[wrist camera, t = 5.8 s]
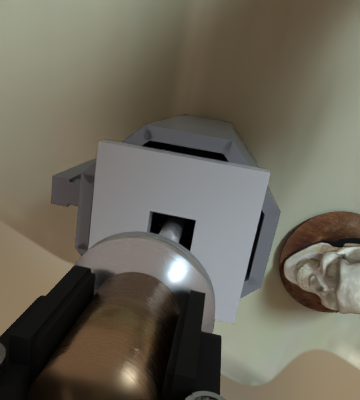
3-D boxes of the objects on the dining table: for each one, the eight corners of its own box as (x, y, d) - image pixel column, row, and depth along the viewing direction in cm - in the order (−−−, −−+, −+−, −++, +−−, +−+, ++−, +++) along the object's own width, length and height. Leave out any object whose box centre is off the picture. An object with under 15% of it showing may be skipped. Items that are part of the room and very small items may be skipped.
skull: (275, 319, 40) (289, 302, 31) (274, 235, 45) (286, 200, 35) (387, 330, 38) (437, 315, 29) (374, 241, 43) (413, 204, 34)
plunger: (248, 150, 29) (316, 306, 7) (228, 242, 31) (229, 580, 9) (150, 132, 29) (-82, 220, 7) (137, 223, 32) (-65, 496, 10)
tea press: (263, 128, 35) (300, 154, 17) (239, 231, 39) (249, 345, 21) (123, 103, 37) (21, 104, 18) (112, 206, 40) (16, 292, 22)
